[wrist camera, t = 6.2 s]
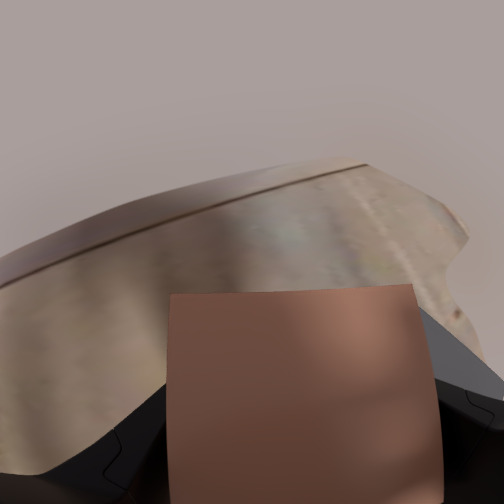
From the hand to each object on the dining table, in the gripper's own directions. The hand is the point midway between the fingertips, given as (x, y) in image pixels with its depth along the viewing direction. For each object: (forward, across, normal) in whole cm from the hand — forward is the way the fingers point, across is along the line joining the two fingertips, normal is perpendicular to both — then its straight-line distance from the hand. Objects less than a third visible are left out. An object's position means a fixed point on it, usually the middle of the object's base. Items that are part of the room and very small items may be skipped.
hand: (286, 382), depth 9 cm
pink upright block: (+4, 0, +6) cm, 7 cm away
